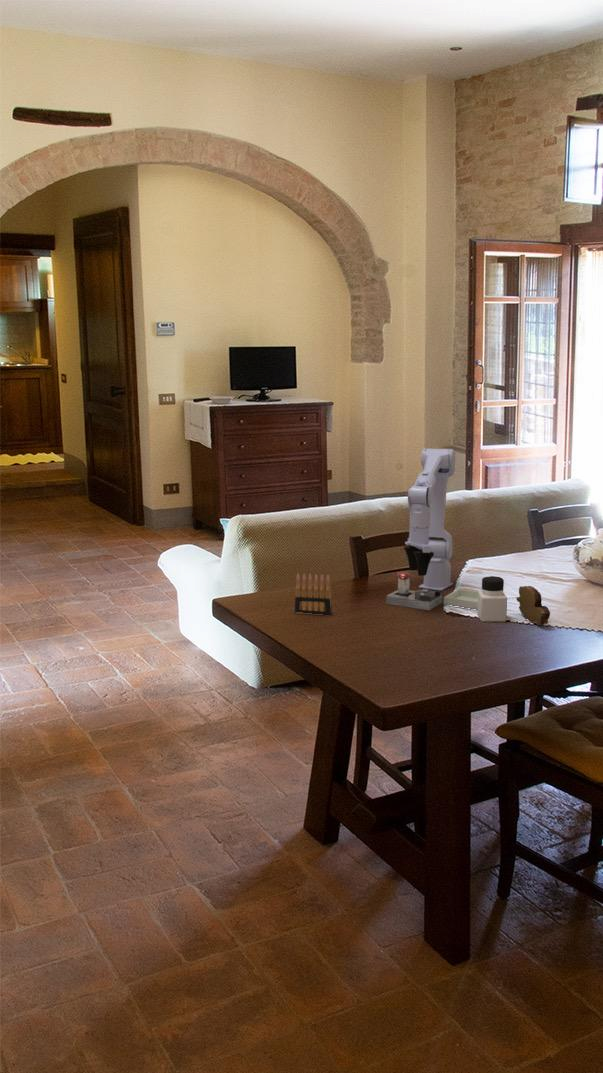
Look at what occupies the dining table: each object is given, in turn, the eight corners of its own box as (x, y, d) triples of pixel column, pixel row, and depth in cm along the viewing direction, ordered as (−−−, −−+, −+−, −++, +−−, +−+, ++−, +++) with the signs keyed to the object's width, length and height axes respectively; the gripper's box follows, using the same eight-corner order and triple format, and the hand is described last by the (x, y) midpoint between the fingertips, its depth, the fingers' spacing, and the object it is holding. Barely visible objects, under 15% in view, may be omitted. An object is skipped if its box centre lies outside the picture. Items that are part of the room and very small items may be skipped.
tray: (458, 596, 303) (458, 588, 302) (492, 601, 297) (492, 593, 296) (443, 605, 294) (443, 597, 293) (478, 610, 288) (478, 602, 287)
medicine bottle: (506, 621, 277) (507, 580, 274) (480, 621, 277) (482, 580, 275) (501, 614, 284) (503, 574, 281) (477, 614, 284) (478, 574, 282)
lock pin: (400, 599, 301) (400, 571, 299) (412, 601, 298) (413, 572, 296) (394, 602, 297) (394, 574, 295) (406, 604, 295) (407, 575, 293)
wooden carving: (555, 628, 270) (557, 593, 268) (541, 630, 269) (542, 595, 267) (524, 612, 286) (526, 579, 284) (510, 614, 284) (511, 580, 282)
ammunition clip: (332, 614, 286) (331, 573, 283) (330, 615, 284) (330, 575, 282) (296, 612, 288) (295, 572, 286) (294, 613, 286) (294, 573, 284)
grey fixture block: (399, 596, 303) (399, 581, 302) (441, 603, 296) (442, 587, 295) (386, 603, 296) (386, 588, 295) (429, 610, 289) (429, 594, 288)
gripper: (398, 523, 294) (397, 568, 296) (414, 531, 280) (412, 578, 282) (421, 523, 295) (419, 567, 297) (437, 530, 281) (436, 577, 283)
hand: (417, 572), depth 290 cm, fingers open, 7 cm apart
